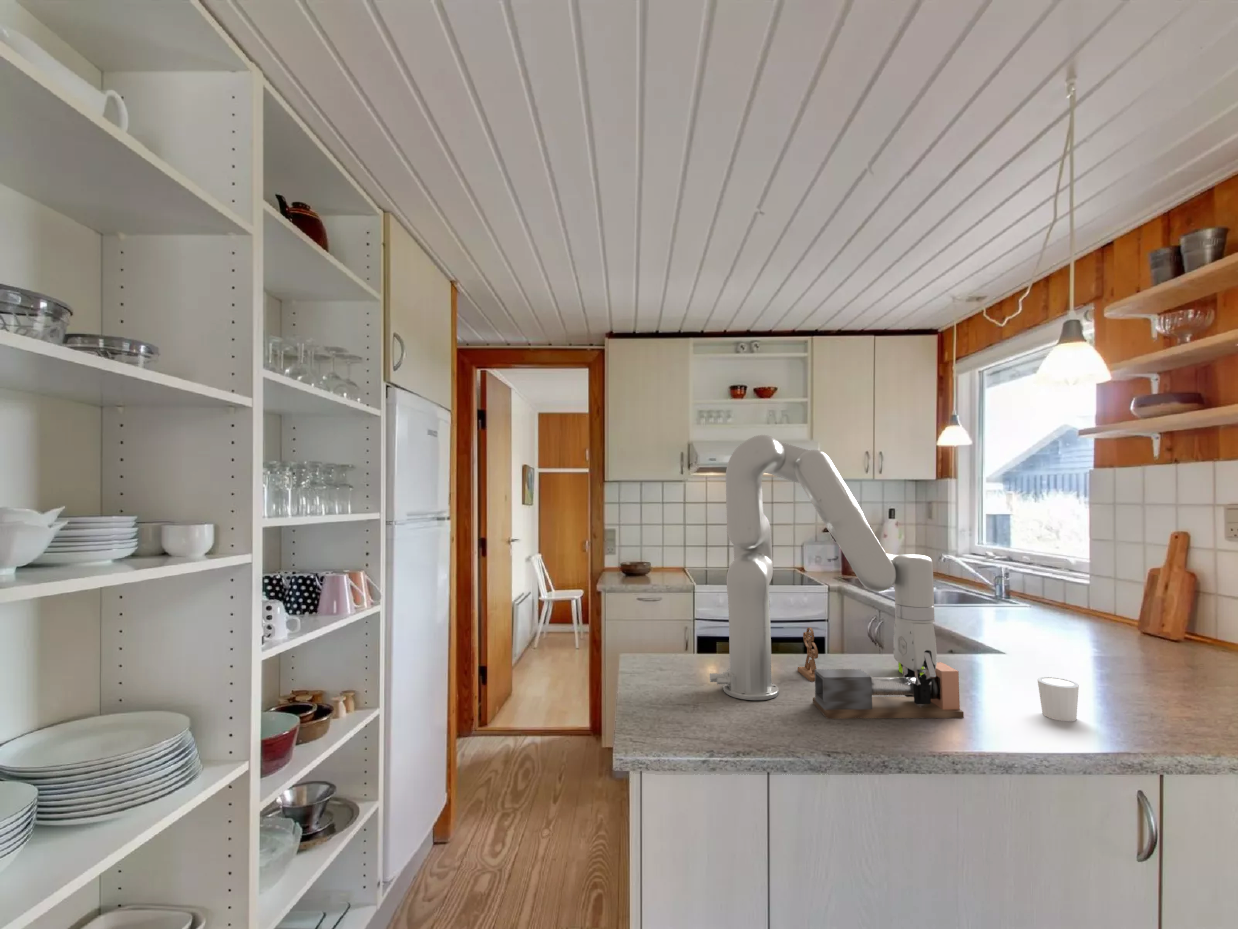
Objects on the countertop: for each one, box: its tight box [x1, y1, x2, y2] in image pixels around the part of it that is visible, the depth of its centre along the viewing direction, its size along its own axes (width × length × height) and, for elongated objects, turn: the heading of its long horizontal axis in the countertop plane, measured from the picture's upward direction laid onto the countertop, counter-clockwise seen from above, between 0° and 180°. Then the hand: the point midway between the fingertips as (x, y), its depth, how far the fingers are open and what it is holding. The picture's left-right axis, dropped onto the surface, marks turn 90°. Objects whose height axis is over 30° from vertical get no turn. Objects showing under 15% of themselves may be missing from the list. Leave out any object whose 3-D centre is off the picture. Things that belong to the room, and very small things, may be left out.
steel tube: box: [871, 673, 940, 699], centre depth 125 cm, size 21×5×5 cm, turn 90°
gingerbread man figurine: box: [797, 627, 819, 682], centre depth 149 cm, size 9×4×12 cm, turn 4°
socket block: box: [931, 661, 961, 710], centre depth 125 cm, size 4×6×8 cm, turn 0°
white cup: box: [1037, 676, 1080, 722], centre depth 121 cm, size 7×7×7 cm
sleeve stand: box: [812, 668, 965, 720], centre depth 125 cm, size 28×9×8 cm, turn 90°
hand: (917, 699), depth 125 cm, fingers closed on steel tube, 3 cm apart
